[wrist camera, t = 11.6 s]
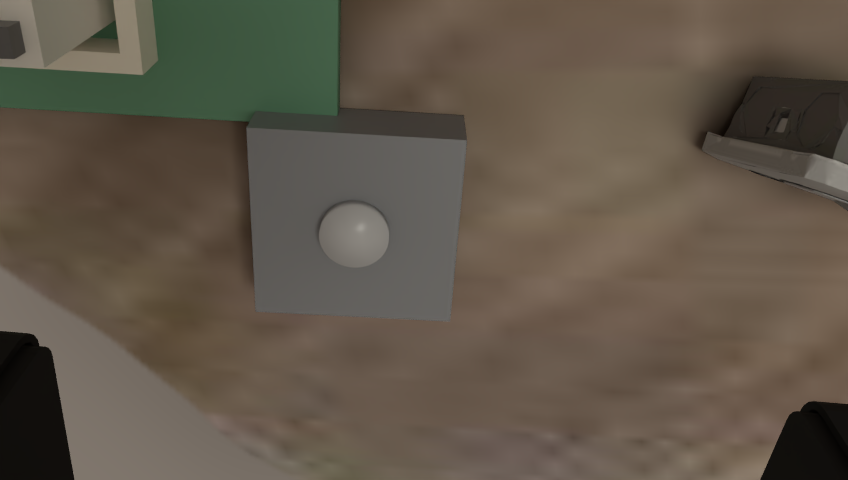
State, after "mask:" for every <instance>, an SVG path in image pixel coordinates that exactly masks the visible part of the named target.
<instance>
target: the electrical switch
mask: <svg viewBox="0 0 848 480" xmlns="http://www.w3.org/2000/svg"><path fill="white" fill-rule="evenodd" d="M839 93H840V94H839ZM702 151H704V152H706V153H708V154H709V155H711V156H713V157H715V158H716V159H719V160H722V161H724V162H727V163H730V164H733V165H736V166H738V167H741V168H744V169H747V170H749V171H751V172H754V173H756V174H759V175H762V176H765V177H768V178H771V179H774V180H777V181H780V182H783V183H785V184H788V185H791V186H794V187H796V188H799V189H802V190H805V191H808V192H810V193H813V194H816V195H819V196H822V197H824V198H827V199H830V200H833V201H834V202H836V203H837V204H839V205H840V206H841V207H843V208H844V209H846V210H847V211H848V81H831V80H812V79H793V78H773V77H754V76H753V79H752V81H751V83H750V86H749V88H748V90H747V93H746V95H745V98H744V100H743V102H742V104H741V106H740V107H739V108H738V110H737V111H736V113H735V114H734V117H733V119H732V122H731V125H730V127H729V128H728V130H727V132H726V133H725V135H724V137H722V136H720V135H717V134H714V133H711V132H707V135H706V138H705V141H704V144H703V147H702Z"/></svg>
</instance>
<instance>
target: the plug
mask: <svg viewBox="0 0 848 480" xmlns="http://www.w3.org/2000/svg"><path fill="white" fill-rule="evenodd" d="M115 20H116V19H115V11H114V3H113V0H0V66H3V67H27V68H45V67H47V66H48V65H50V64H51V63H53V62H54V61H56V60H57V59H59V58H60V57H62V56H63V55H65V54H66V53H68V52H69V51H71V50H72V49H73V48H75V47H76V46H78V45H79V44H81V43H82V42H84V41H85V40H87V39H88V38H90V37H91V36H93V35H94V34H96V33H97V32H98V31H100V30H101V29H103V28H104V27H106V26H107V25H109V24H110V23H112V22H113V21H115Z"/></svg>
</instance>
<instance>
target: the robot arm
mask: <svg viewBox="0 0 848 480" xmlns="http://www.w3.org/2000/svg"><path fill="white" fill-rule="evenodd" d="M0 480H74V475H73V469H72V464H71V459H70V452H69V447H68V441H67V435H66V430H65V424H64V419H63V413H62V407H61V401H60V397H59V390H58V385H57V379H56V373H55V368H54V363H53V356H52V353H51V351H50V349H49V348H47V347H41V346H39V343H38V340H37V338H36V337H35V336H34V335H32V334H28V333H17V332H4V331H0ZM760 480H848V404H839V403H828V402H816V401H813V402H808V403H806V404H805V405H804V406H803V407H802V409H801V411H800V412H799V411H796V412H793V413H791V414H790V415H789V417H788V419H787V420H786V423H785V425H784V427H783V430H782V432H781V434H780V436H779V439H778V441H777V443H776V445H775V448H774V450H773V452H772V454H771V457H770V459H769V461H768V464H767V466H766V468H765V470H764V473H763V475H762V477H761V479H760Z"/></svg>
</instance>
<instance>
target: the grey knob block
mask: <svg viewBox="0 0 848 480" xmlns="http://www.w3.org/2000/svg"><path fill="white" fill-rule="evenodd" d="M246 130H247V150H248V170H249V190H250V210H251V230H252V249H253V269H254V289H255V309H256V312H273V313H293V314H313V315H332V316H352V317H372V318H392V319H411V320H431V321H450V316H451V305H452V295H453V284H454V273H455V263H456V252H457V241H458V231H459V220H460V209H461V199H462V188H463V177H464V167H465V156H466V145H467V137H466V129H465V122H464V115H449V114H432V113H415V112H398V111H381V110H364V109H347V108H339V112H338V115H337V116H332V115H315V114H298V113H280V112H263V111H255V113H254V115H253V117H252V118H251V120H250V122H249V124H248V126H247V127H246Z"/></svg>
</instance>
